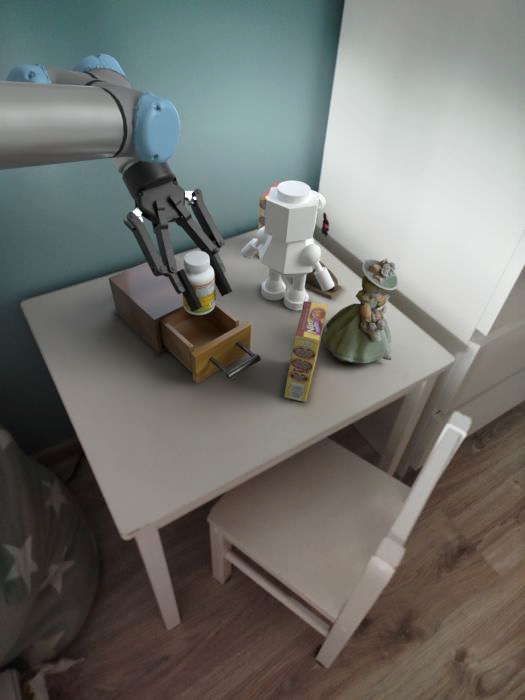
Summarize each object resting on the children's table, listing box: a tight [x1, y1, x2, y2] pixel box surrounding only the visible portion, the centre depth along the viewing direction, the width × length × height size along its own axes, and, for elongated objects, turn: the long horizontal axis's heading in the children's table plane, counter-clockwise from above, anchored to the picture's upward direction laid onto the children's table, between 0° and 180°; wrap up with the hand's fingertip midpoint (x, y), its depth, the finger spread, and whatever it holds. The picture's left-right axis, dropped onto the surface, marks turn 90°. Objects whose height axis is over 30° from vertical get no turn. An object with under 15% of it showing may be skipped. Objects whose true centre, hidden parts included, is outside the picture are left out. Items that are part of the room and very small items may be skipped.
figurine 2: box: [304, 260, 342, 300], centre depth 102 cm, size 14×4×9 cm, turn 56°
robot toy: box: [241, 179, 335, 312], centre depth 92 cm, size 22×12×25 cm, turn 58°
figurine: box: [322, 257, 399, 365], centre depth 83 cm, size 14×14×20 cm
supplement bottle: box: [182, 250, 216, 315], centre depth 75 cm, size 5×5×10 cm
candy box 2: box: [283, 301, 328, 403], centre depth 78 cm, size 9×4×15 cm, turn 167°
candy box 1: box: [256, 181, 281, 257], centre depth 108 cm, size 9×4×15 cm, turn 154°
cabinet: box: [108, 255, 217, 355], centre depth 91 cm, size 16×14×9 cm
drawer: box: [159, 300, 262, 384], centre depth 84 cm, size 20×12×7 cm, turn 43°
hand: (212, 301), depth 75 cm, fingers closed on supplement bottle, 5 cm apart
